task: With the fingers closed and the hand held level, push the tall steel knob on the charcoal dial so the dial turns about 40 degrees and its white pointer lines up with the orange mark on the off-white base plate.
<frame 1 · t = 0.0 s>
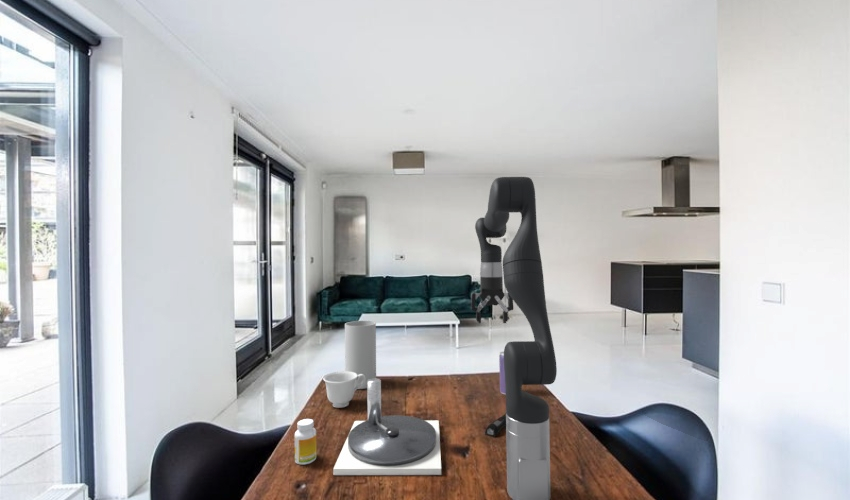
hand: (492, 322, 128), 29 cm above the table, tool pointing down, fingers open, 8 cm apart
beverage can: (507, 393, 142), on the table
electric trimmer: (500, 428, 114), on the table
dial base plate: (392, 447, 102), on the table
teacup: (344, 404, 133), on the table
dial: (392, 415, 103), point 9 cm above the table, hinge at 0.0°
cylinder vase: (360, 384, 153), on the table
supplement bottle: (305, 460, 97), on the table
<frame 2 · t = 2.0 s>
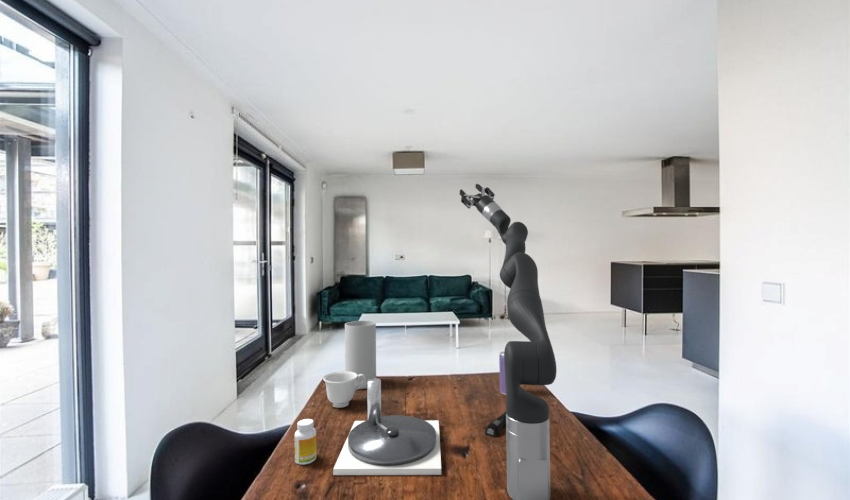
hand: (468, 188, 166), 82 cm above the table, tool pointing upward, fingers open, 8 cm apart
nothing on the table moved.
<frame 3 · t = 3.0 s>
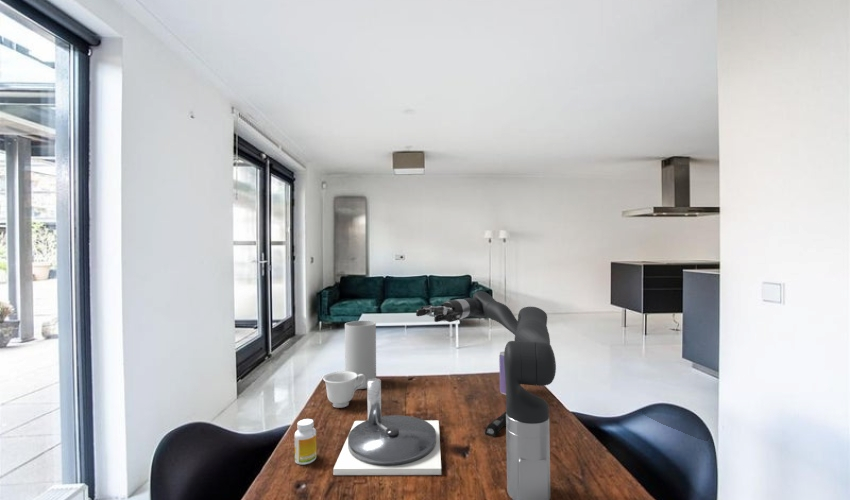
hand: (425, 315, 128), 32 cm above the table, tool horizontal, fingers open, 8 cm apart
nothing on the table moved.
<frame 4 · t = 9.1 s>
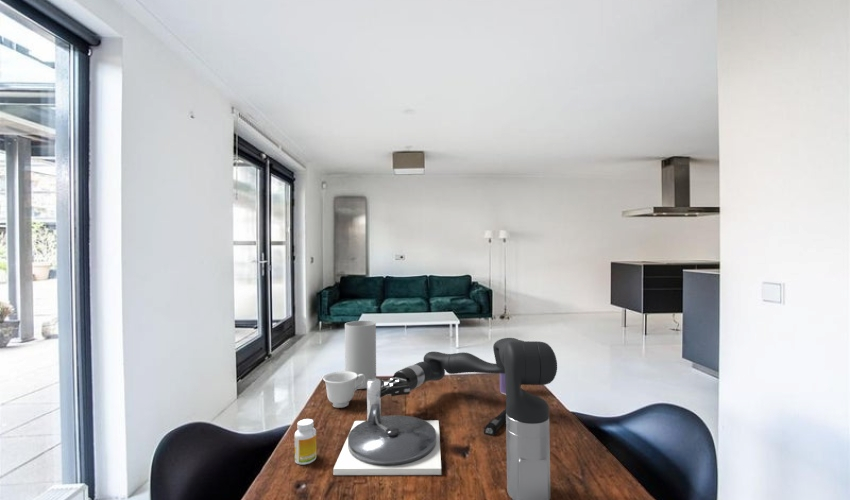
hand: (376, 394, 113), 11 cm above the table, tool horizontal, fingers closed
dial: (392, 415, 103), point 9 cm above the table, hinge at 0.7°, touching gripper
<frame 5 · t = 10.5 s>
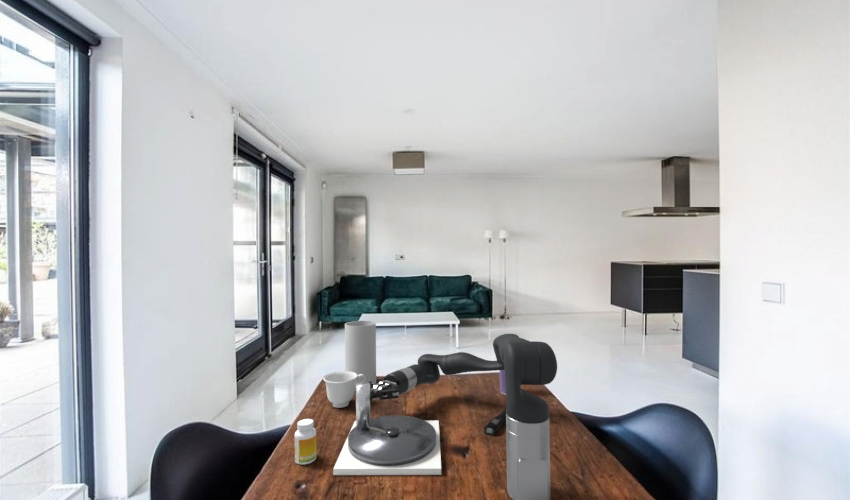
hand: (363, 398, 110), 11 cm above the table, tool horizontal, fingers closed
dial: (392, 415, 103), point 9 cm above the table, hinge at 24.5°, touching gripper
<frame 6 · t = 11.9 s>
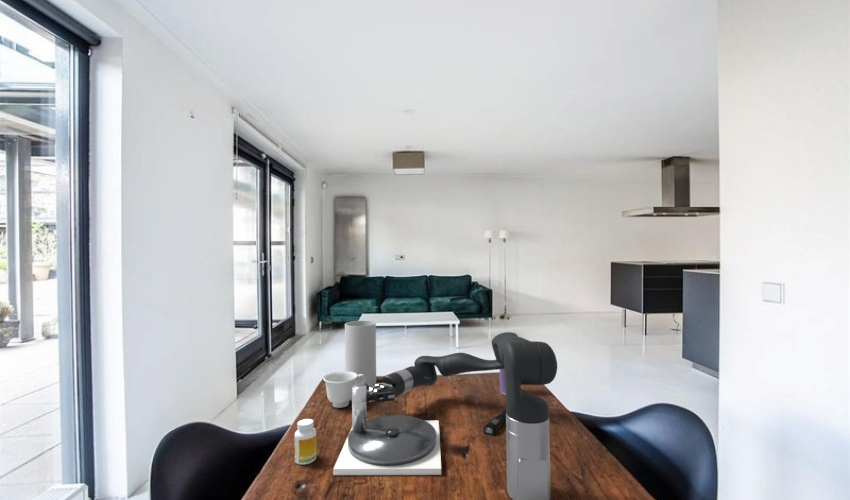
hand: (358, 401, 108), 11 cm above the table, tool horizontal, fingers closed
dial: (392, 415, 103), point 9 cm above the table, hinge at 36.1°, touching gripper
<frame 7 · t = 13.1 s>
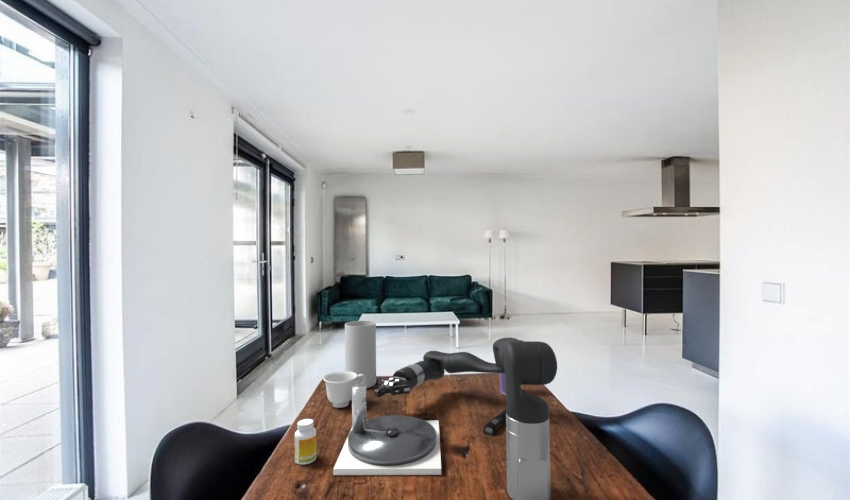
hand: (376, 394, 113), 11 cm above the table, tool horizontal, fingers closed
dial: (392, 415, 103), point 9 cm above the table, hinge at 36.5°
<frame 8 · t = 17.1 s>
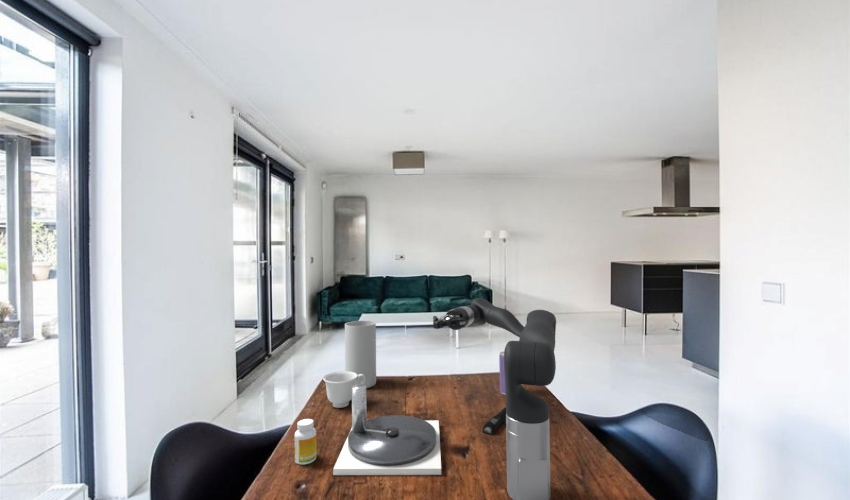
hand: (435, 325, 120), 30 cm above the table, tool horizontal, fingers closed
at the end: dial at +36° (first picture: +0°) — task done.
